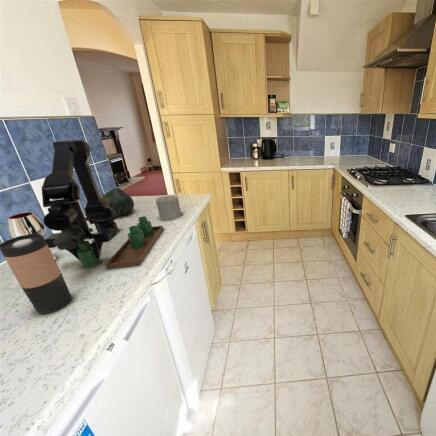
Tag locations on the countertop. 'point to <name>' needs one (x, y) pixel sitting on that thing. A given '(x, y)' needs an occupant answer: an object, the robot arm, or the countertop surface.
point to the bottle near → (145, 226)
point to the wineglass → (25, 225)
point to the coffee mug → (168, 207)
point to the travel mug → (37, 272)
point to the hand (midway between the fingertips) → (90, 259)
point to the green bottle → (87, 255)
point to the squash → (119, 201)
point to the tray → (133, 252)
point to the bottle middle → (136, 237)
